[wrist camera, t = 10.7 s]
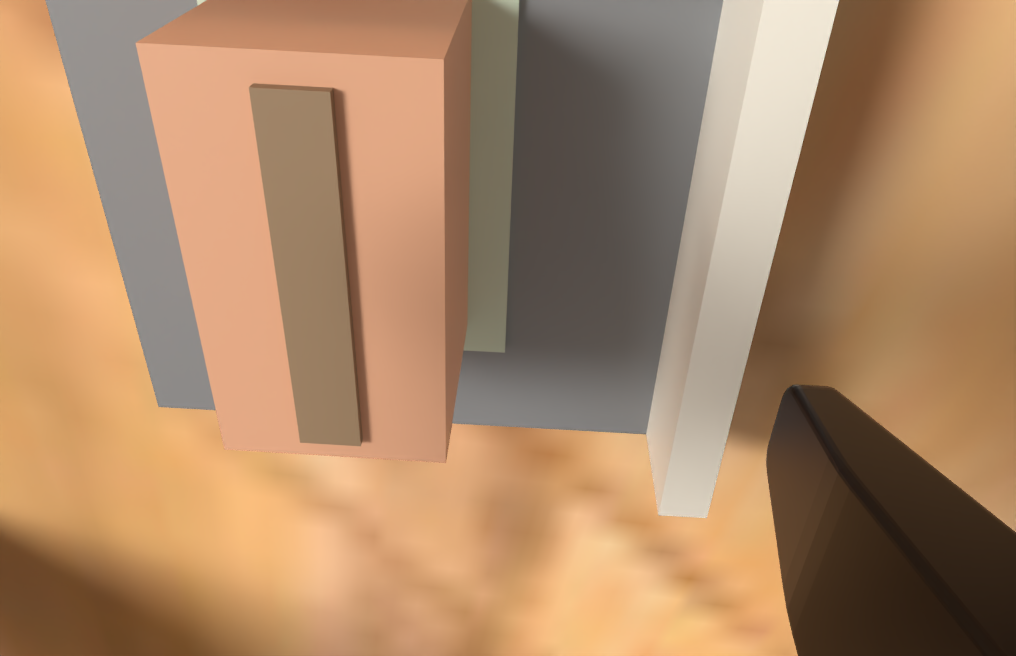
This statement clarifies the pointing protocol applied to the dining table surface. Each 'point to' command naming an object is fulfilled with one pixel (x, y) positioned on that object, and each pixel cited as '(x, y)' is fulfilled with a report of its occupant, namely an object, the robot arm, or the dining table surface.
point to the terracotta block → (322, 215)
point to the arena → (544, 208)
